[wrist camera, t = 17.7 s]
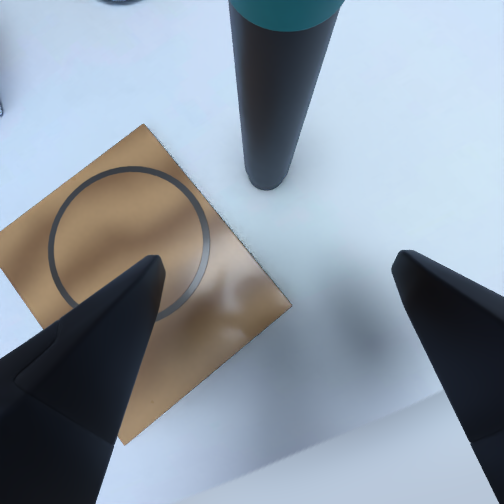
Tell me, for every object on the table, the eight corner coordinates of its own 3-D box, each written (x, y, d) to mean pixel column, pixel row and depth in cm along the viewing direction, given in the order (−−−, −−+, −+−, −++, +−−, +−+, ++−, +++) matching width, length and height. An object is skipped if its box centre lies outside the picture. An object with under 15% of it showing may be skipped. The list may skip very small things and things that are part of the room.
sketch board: (291, 304, 17) (293, 306, 16) (128, 440, 16) (122, 448, 16) (147, 127, 19) (142, 121, 18) (-8, 244, 18) (-20, 243, 17)
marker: (296, 175, 18) (440, -165, 4) (263, 202, 18) (290, -54, 4) (269, 143, 18) (313, -278, 4) (235, 170, 18) (167, -181, 4)
